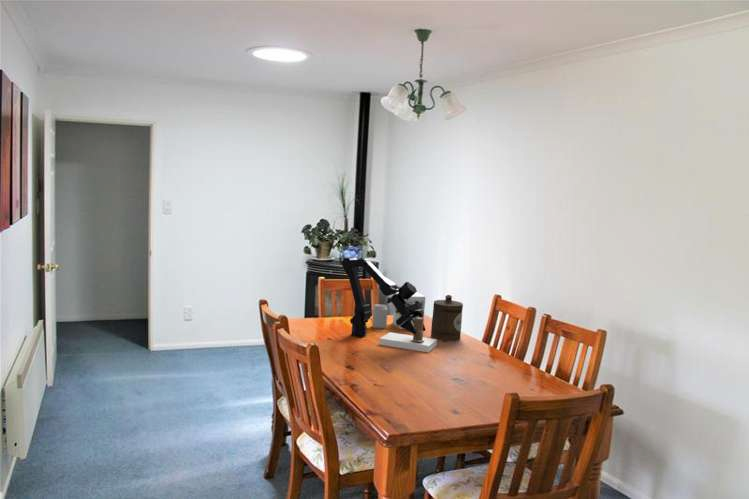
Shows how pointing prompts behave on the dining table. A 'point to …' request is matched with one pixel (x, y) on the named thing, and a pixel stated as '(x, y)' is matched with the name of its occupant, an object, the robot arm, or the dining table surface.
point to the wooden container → (446, 319)
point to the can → (379, 316)
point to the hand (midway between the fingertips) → (420, 332)
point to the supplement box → (412, 301)
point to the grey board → (407, 342)
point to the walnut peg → (418, 329)
